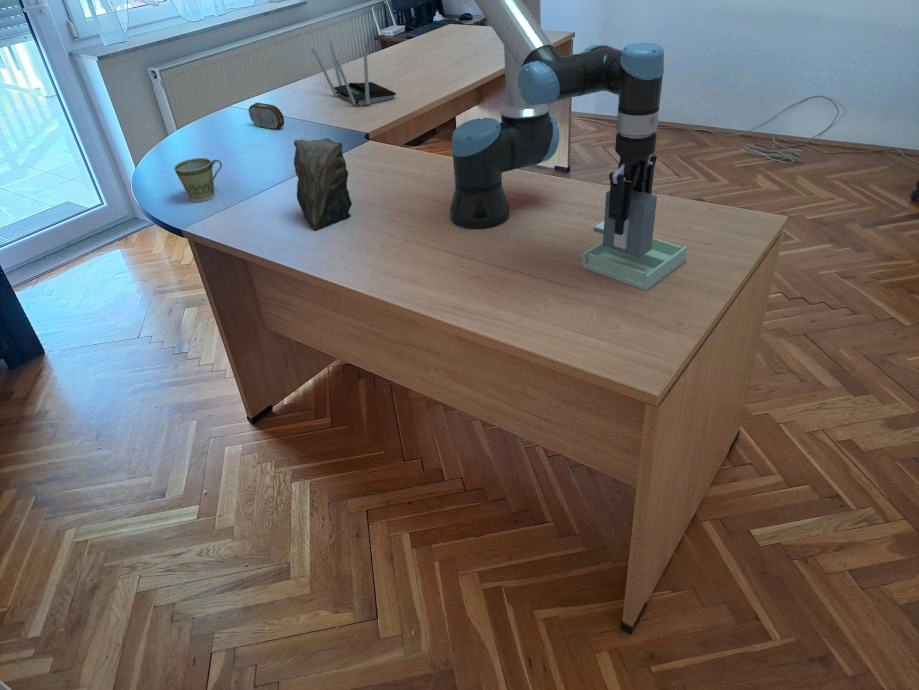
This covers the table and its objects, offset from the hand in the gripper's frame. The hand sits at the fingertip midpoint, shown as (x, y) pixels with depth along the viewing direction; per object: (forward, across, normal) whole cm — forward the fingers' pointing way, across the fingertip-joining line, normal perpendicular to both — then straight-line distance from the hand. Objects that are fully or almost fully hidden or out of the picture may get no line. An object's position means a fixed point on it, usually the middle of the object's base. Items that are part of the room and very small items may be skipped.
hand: (627, 241), depth 144 cm
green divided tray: (+7, +4, 0) cm, 8 cm away
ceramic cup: (+7, -35, +117) cm, 122 cm away
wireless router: (+7, +52, +155) cm, 164 cm away
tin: (+7, +11, +156) cm, 157 cm away
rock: (+7, -24, +76) cm, 80 cm away
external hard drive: (+8, +18, +12) cm, 23 cm away
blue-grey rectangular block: (+1, 0, 0) cm, 1 cm away
